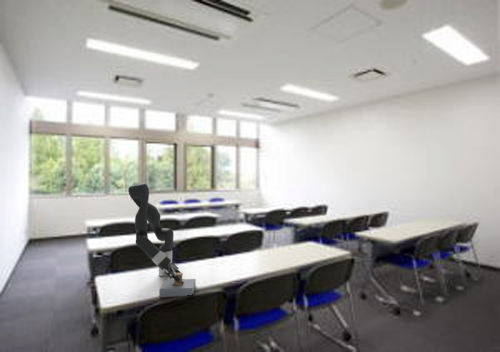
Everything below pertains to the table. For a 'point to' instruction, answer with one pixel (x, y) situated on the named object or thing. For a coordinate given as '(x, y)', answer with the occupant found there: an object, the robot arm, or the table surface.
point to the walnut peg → (179, 281)
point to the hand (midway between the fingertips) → (180, 278)
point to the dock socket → (177, 288)
